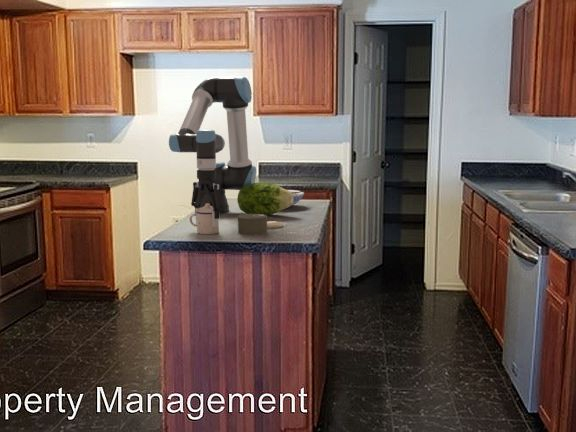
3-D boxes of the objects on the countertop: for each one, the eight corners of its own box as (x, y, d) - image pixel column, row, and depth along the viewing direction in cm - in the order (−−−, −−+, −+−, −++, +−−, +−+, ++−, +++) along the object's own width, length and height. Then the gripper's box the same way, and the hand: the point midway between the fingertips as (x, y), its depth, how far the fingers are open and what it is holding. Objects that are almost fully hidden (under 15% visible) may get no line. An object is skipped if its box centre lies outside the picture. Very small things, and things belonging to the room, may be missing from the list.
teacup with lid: (221, 230, 254) (221, 202, 252) (216, 234, 245) (216, 205, 243) (192, 229, 255) (192, 201, 253) (187, 234, 246) (186, 205, 244)
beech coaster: (254, 226, 264) (254, 223, 264) (270, 223, 271) (270, 220, 271) (271, 229, 257) (271, 226, 257) (287, 226, 265) (287, 223, 264)
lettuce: (291, 217, 280) (288, 183, 278) (235, 219, 286) (232, 186, 284) (297, 211, 295) (295, 178, 292) (244, 213, 301) (241, 181, 298)
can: (231, 232, 252) (231, 215, 250) (256, 228, 259) (256, 212, 258) (248, 236, 242) (248, 219, 241) (273, 233, 249) (273, 216, 248)
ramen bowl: (283, 201, 333) (283, 186, 331) (314, 206, 317) (315, 190, 316) (248, 207, 315) (248, 191, 314) (280, 212, 299) (280, 195, 298)
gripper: (181, 168, 250) (182, 223, 254) (218, 171, 236) (218, 229, 239) (195, 167, 256) (196, 221, 259) (232, 170, 242) (232, 227, 245)
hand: (207, 225), depth 249 cm, fingers closed on teacup with lid, 9 cm apart
